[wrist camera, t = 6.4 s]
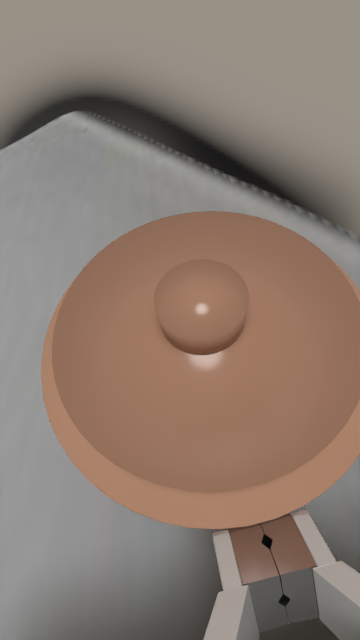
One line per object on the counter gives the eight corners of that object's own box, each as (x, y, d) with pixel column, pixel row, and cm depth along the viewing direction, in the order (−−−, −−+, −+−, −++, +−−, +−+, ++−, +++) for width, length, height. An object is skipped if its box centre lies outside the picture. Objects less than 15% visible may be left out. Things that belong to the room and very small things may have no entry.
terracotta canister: (330, 360, 16) (452, 219, 8) (263, 563, 12) (368, 707, 4) (172, 297, 20) (140, 148, 11) (78, 442, 16) (-82, 380, 7)
